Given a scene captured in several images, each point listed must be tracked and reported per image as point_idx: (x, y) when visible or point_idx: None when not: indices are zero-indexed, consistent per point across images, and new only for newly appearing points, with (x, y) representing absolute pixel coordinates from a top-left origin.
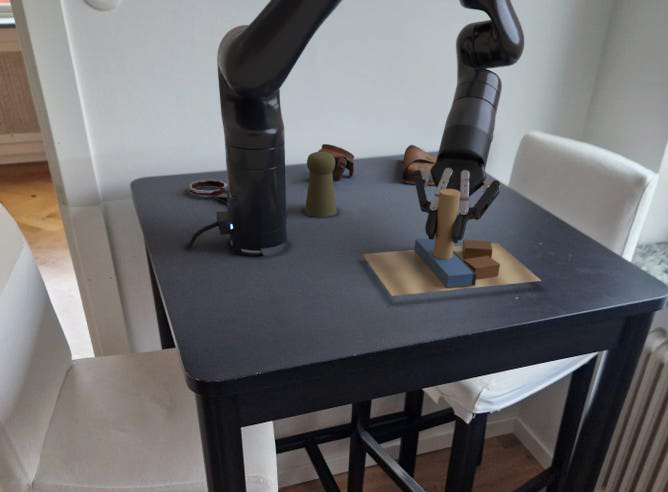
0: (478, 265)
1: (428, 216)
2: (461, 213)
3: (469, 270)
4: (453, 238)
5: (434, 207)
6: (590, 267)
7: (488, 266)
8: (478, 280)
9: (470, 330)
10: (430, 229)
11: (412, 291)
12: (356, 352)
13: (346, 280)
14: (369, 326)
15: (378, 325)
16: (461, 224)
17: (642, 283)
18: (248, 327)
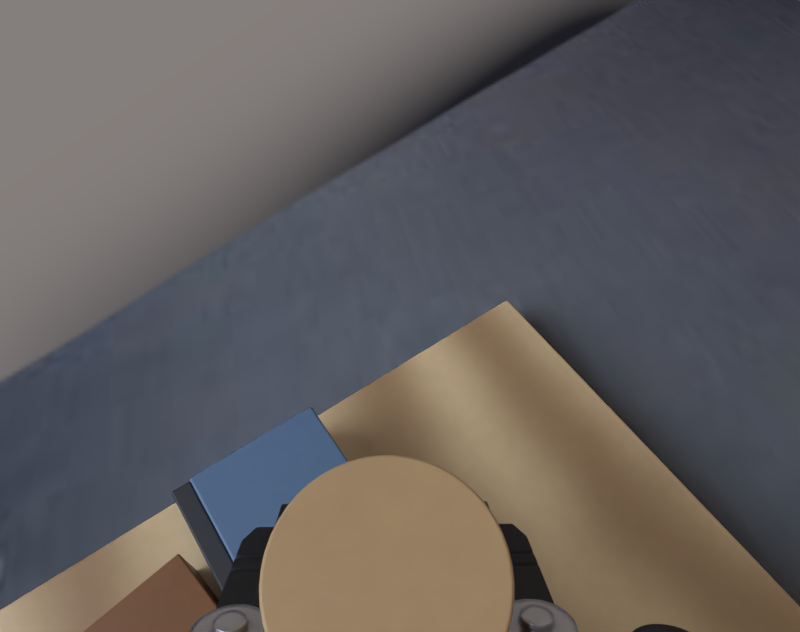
0: (160, 600)
1: (544, 591)
2: (254, 613)
3: (210, 502)
4: None
5: (523, 609)
6: None
7: (100, 618)
8: None
9: (204, 262)
10: None
11: (446, 356)
12: (485, 90)
13: (757, 445)
14: (508, 190)
15: (487, 202)
16: (254, 583)
17: None
18: (787, 101)
